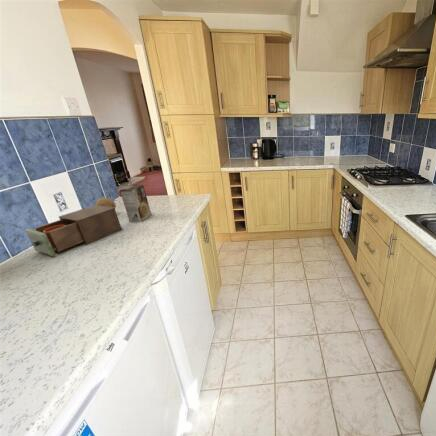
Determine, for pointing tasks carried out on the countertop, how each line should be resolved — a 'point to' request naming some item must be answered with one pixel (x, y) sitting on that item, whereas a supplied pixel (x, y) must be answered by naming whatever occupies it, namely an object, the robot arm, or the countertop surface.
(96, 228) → the cabinet
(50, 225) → the drawer
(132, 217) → the coffee box
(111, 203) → the natural sponge
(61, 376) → the countertop surface
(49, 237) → the ramekin
